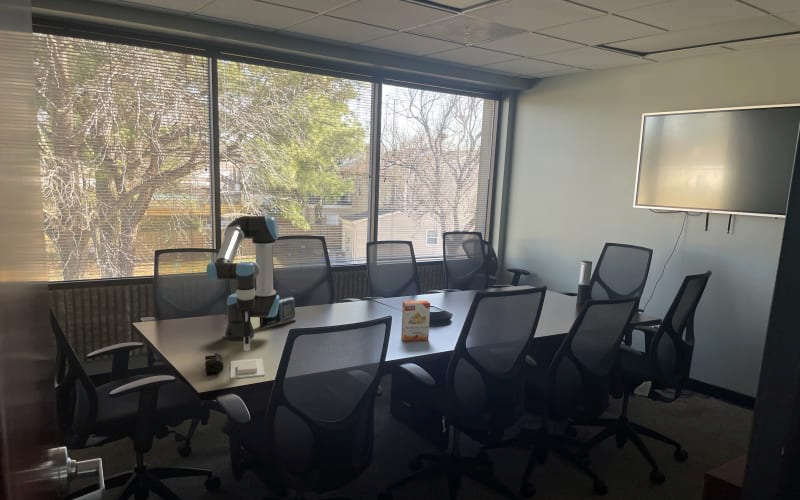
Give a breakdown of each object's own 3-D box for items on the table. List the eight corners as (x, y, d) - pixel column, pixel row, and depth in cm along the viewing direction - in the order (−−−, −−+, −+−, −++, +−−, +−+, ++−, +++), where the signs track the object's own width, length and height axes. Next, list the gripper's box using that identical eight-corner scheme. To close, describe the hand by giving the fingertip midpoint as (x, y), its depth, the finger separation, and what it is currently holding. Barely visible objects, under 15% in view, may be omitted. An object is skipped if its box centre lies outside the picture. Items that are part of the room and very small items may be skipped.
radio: (260, 329, 283) (259, 303, 281) (254, 325, 290) (253, 300, 287) (298, 322, 297) (298, 298, 295) (291, 319, 304) (291, 295, 302)
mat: (230, 362, 233) (230, 360, 233) (262, 359, 237) (262, 358, 237) (230, 379, 214) (230, 377, 214) (264, 375, 219) (264, 374, 219)
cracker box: (404, 342, 267) (405, 303, 264) (400, 338, 273) (402, 300, 270) (429, 340, 271) (430, 302, 268) (425, 337, 277) (426, 299, 274)
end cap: (223, 374, 219) (223, 359, 218) (206, 377, 216) (205, 361, 215) (222, 366, 228) (221, 352, 227) (205, 368, 225) (205, 354, 224)
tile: (237, 361, 227) (237, 370, 218) (256, 360, 229) (256, 368, 220) (237, 366, 227) (237, 374, 218) (256, 364, 230) (257, 372, 220)
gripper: (236, 294, 224) (238, 345, 228) (236, 302, 212) (238, 355, 216) (254, 293, 226) (255, 344, 230) (255, 301, 214) (256, 354, 218)
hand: (246, 349), depth 223 cm, fingers closed
